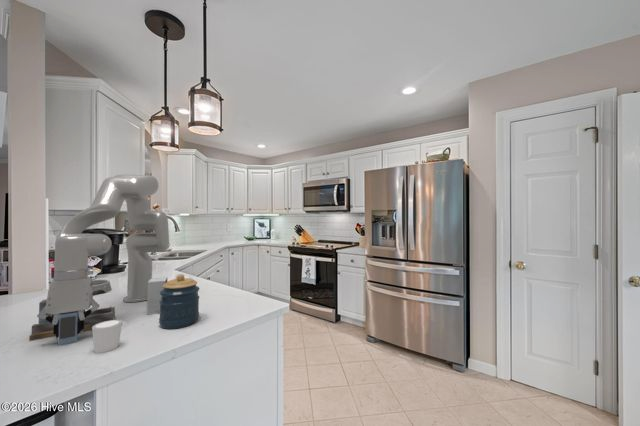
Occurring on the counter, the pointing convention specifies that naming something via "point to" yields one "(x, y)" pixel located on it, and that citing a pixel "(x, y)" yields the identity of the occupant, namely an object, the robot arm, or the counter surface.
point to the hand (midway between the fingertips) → (69, 333)
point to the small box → (154, 294)
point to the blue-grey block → (68, 328)
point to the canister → (179, 303)
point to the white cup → (106, 335)
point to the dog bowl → (101, 286)
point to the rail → (95, 317)
